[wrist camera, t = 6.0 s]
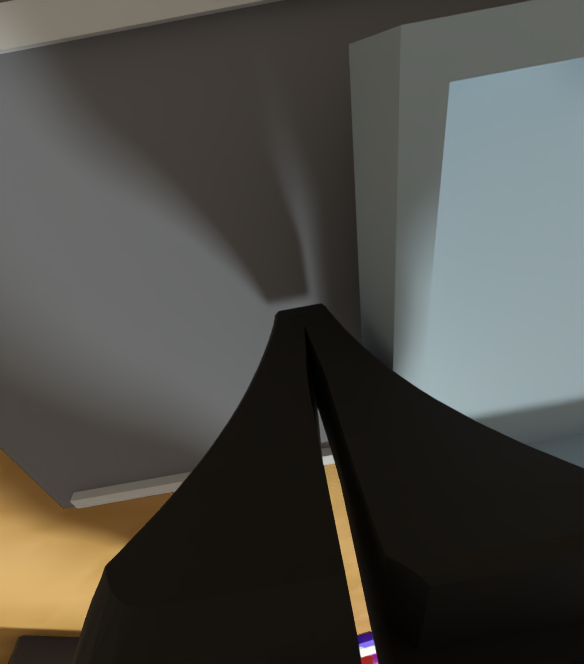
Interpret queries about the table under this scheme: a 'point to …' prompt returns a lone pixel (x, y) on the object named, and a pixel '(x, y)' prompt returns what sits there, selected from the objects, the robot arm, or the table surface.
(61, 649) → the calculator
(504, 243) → the light blue storage bin
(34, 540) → the table surface
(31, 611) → the table surface
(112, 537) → the table surface
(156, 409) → the track
